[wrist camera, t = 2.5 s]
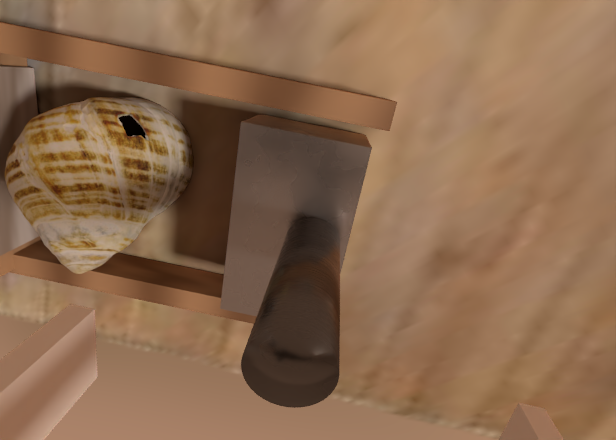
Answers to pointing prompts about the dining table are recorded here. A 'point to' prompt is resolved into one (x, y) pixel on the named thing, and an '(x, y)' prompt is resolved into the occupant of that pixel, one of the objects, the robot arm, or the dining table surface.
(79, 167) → the seashell
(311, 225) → the grey plunger
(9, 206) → the press frame
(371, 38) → the dining table surface
